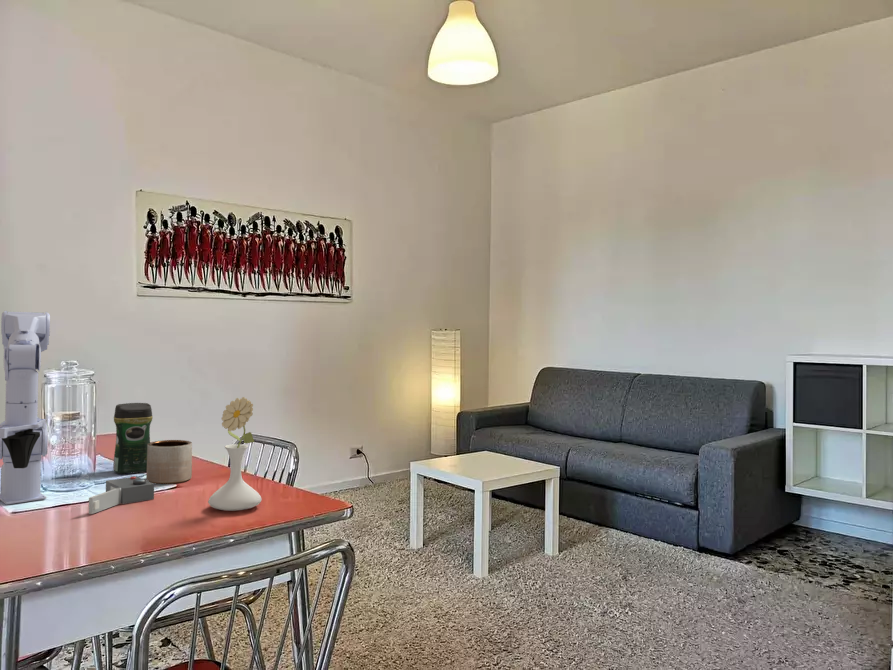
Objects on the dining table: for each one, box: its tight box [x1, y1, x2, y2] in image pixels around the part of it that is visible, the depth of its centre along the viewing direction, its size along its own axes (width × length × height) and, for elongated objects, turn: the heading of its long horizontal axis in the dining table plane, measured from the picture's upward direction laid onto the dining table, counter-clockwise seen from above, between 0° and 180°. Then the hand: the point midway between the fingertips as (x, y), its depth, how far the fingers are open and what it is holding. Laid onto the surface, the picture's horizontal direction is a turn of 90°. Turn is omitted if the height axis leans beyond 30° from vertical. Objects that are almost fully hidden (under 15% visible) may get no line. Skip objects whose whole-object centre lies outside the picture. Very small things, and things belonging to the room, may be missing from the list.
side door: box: [88, 488, 121, 515], centre depth 149 cm, size 10×1×3 cm, turn 169°
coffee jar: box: [112, 402, 153, 475], centre depth 187 cm, size 10×8×19 cm
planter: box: [146, 439, 193, 485], centre depth 178 cm, size 11×11×10 cm
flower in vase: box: [207, 396, 263, 512], centre depth 152 cm, size 13×11×25 cm
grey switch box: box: [105, 476, 155, 505], centre depth 160 cm, size 10×7×4 cm
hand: (20, 467), depth 143 cm, fingers closed
